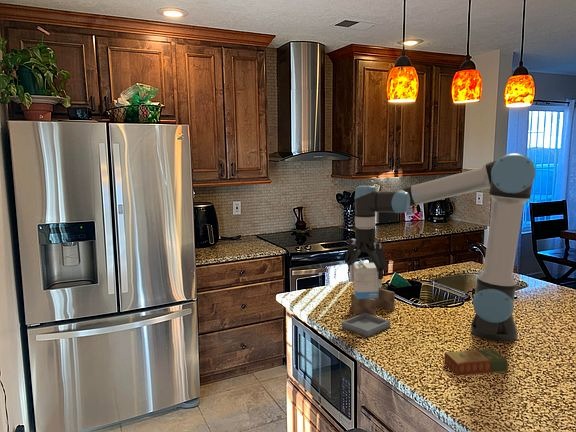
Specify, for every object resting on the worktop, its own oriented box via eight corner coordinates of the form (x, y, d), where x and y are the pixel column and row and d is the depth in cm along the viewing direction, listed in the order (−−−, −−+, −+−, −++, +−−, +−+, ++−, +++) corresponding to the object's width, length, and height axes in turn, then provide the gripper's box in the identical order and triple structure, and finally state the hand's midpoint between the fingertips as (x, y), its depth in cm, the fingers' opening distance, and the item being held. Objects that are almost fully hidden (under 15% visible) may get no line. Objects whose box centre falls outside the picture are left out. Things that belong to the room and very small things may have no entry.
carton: (443, 364, 134) (444, 351, 134) (491, 360, 136) (492, 347, 136) (457, 377, 126) (457, 363, 126) (508, 372, 128) (508, 359, 127)
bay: (394, 310, 181) (394, 292, 180) (374, 319, 172) (374, 300, 171) (369, 303, 191) (369, 286, 190) (349, 311, 182) (349, 293, 181)
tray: (390, 327, 164) (390, 320, 163) (367, 337, 155) (367, 331, 154) (364, 318, 173) (364, 312, 173) (341, 328, 164) (341, 321, 164)
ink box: (379, 298, 158) (379, 263, 156) (356, 299, 158) (355, 263, 156) (374, 291, 166) (374, 257, 165) (353, 292, 166) (352, 258, 165)
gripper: (398, 229, 152) (398, 288, 155) (347, 223, 170) (347, 276, 173) (385, 232, 147) (385, 293, 150) (334, 225, 165) (335, 280, 168)
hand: (365, 284), depth 162 cm, fingers closed on ink box, 11 cm apart
